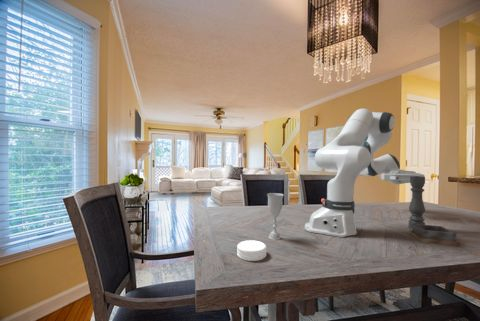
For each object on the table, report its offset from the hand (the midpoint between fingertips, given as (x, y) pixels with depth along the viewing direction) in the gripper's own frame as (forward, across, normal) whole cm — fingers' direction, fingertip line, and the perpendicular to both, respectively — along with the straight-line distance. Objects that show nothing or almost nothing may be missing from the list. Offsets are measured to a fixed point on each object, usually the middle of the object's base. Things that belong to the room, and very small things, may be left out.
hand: (407, 178), depth 119 cm
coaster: (+66, -68, +23) cm, 98 cm away
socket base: (+27, 0, +23) cm, 36 cm away
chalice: (+47, -63, +23) cm, 82 cm away
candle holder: (+12, 0, +23) cm, 26 cm away
